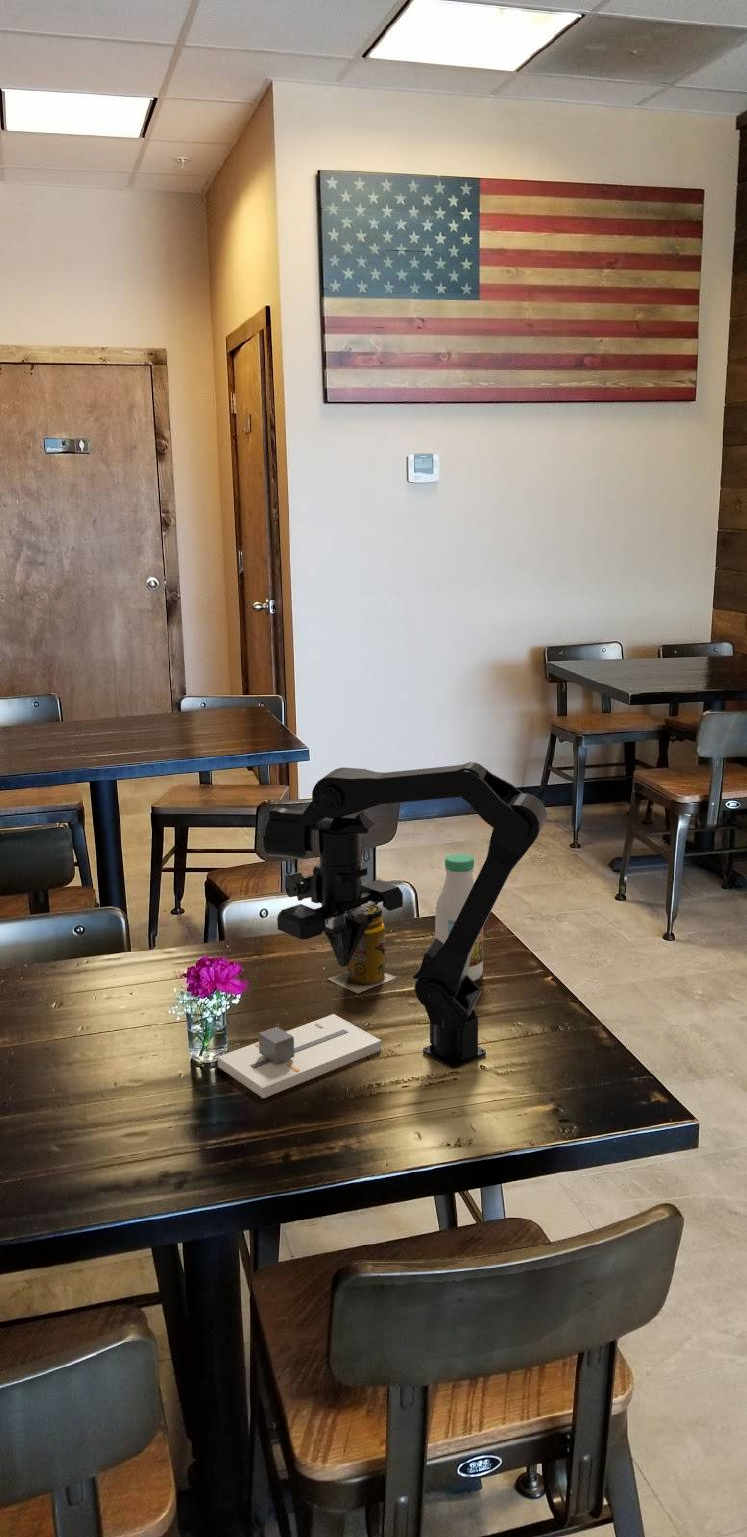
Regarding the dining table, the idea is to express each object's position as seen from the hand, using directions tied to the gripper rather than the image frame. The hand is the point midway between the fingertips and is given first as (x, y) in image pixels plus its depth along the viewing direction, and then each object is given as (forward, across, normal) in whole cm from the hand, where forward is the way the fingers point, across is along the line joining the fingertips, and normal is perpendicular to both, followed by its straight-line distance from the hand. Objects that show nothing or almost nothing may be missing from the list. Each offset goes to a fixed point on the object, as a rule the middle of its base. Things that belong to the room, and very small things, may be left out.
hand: (343, 965), depth 159 cm
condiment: (+12, -15, -14) cm, 24 cm away
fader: (+9, +12, 0) cm, 15 cm away
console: (+11, +8, 0) cm, 14 cm away
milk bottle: (+12, -28, -5) cm, 31 cm away
